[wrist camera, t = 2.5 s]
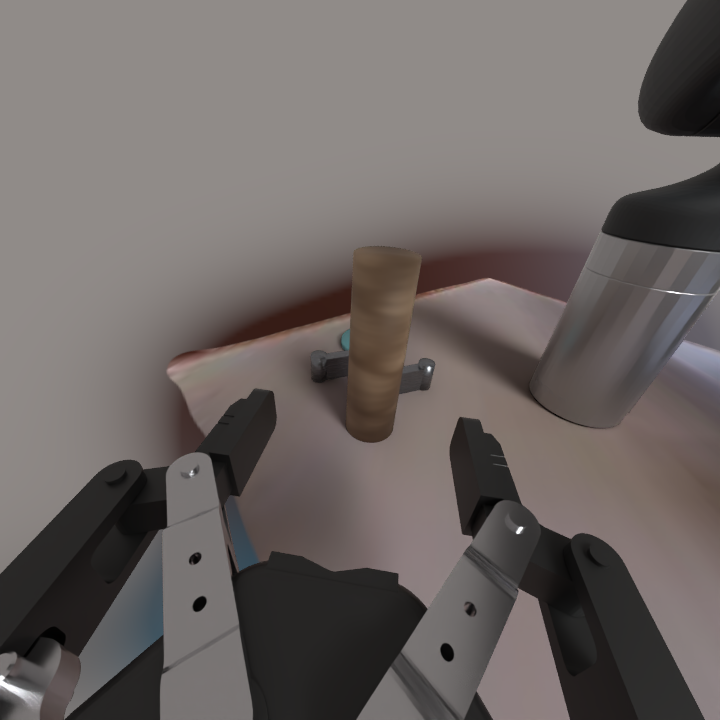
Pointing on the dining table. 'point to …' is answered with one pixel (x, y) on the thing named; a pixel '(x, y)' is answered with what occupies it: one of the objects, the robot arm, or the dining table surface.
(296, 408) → the dining table surface
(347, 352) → the zigzag rail
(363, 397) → the walnut peg
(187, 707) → the robot arm
